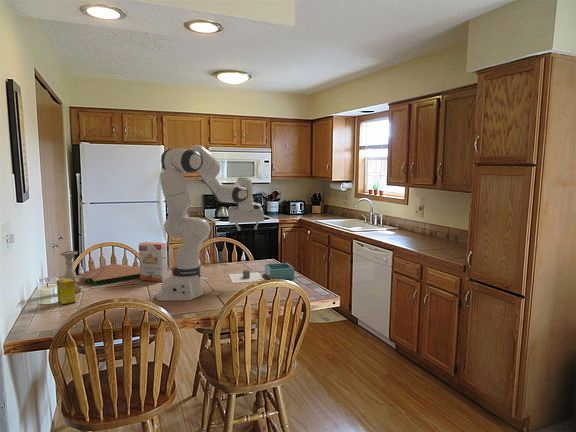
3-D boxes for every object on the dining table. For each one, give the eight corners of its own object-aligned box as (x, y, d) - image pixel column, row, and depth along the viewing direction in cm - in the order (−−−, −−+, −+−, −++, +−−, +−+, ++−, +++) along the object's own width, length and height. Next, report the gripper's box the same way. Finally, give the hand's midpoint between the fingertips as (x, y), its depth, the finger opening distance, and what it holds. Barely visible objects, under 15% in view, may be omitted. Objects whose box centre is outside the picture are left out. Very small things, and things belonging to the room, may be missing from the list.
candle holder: (59, 291, 208) (57, 252, 206) (78, 288, 214) (76, 249, 211) (63, 295, 201) (61, 255, 199) (83, 292, 207) (80, 252, 205)
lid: (232, 284, 225) (232, 275, 224) (228, 275, 242) (228, 267, 242) (264, 281, 230) (264, 273, 229) (258, 273, 247) (258, 266, 246)
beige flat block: (78, 278, 233) (77, 264, 232) (136, 269, 254) (136, 256, 253) (88, 287, 216) (88, 272, 215) (150, 277, 236) (150, 263, 235)
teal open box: (270, 280, 230) (270, 269, 230) (264, 274, 244) (264, 264, 243) (294, 278, 234) (294, 268, 233) (287, 272, 248) (287, 262, 247)
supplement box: (57, 302, 191) (56, 279, 190) (71, 300, 195) (70, 277, 194) (61, 306, 187) (60, 282, 185) (75, 303, 191) (74, 280, 189)
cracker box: (139, 280, 229) (138, 243, 226) (145, 277, 235) (144, 241, 232) (162, 282, 226) (160, 244, 223) (167, 279, 231) (166, 242, 229)
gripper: (227, 208, 228) (228, 232, 231) (263, 206, 229) (265, 230, 232) (227, 206, 234) (229, 229, 237) (263, 204, 235) (264, 227, 238)
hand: (247, 229), depth 234 cm, fingers open, 8 cm apart
